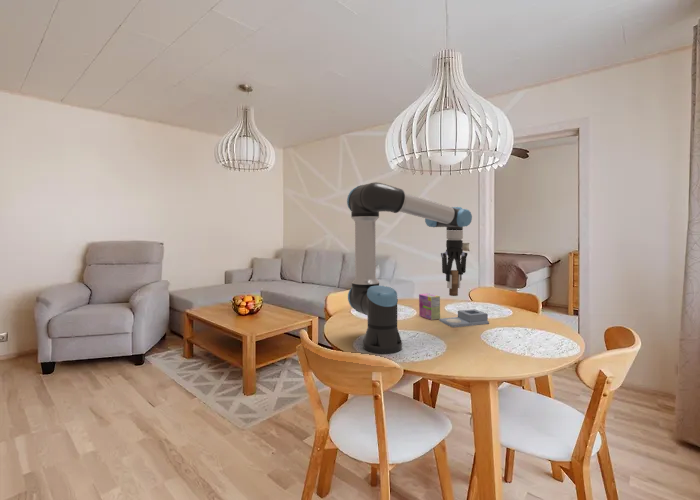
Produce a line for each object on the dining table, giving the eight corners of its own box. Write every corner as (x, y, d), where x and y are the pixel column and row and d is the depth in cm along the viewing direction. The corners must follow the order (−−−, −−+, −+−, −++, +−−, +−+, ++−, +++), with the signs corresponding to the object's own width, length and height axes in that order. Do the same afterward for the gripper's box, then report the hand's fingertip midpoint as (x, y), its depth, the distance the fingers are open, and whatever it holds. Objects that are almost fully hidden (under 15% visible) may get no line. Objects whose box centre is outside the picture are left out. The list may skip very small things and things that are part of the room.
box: (418, 315, 185) (418, 293, 184) (427, 314, 187) (427, 292, 187) (431, 320, 176) (431, 297, 175) (440, 319, 178) (440, 296, 177)
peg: (459, 295, 167) (459, 270, 167) (452, 296, 166) (452, 271, 165) (454, 294, 171) (455, 270, 170) (447, 294, 170) (448, 270, 169)
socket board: (488, 323, 168) (489, 314, 168) (452, 327, 163) (452, 317, 162) (473, 317, 180) (473, 308, 179) (439, 321, 174) (439, 311, 174)
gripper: (465, 239, 173) (464, 285, 174) (434, 239, 168) (433, 287, 170) (474, 239, 166) (473, 288, 167) (442, 239, 161) (442, 290, 162)
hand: (453, 287), depth 168 cm, fingers closed on peg, 4 cm apart
